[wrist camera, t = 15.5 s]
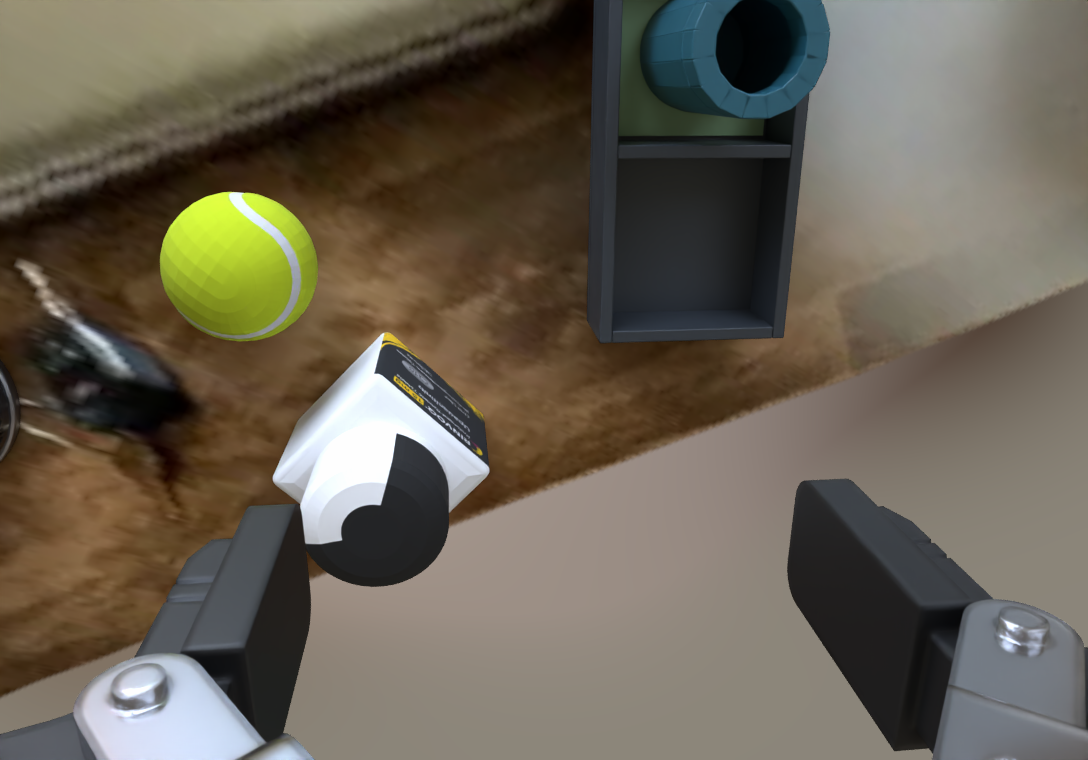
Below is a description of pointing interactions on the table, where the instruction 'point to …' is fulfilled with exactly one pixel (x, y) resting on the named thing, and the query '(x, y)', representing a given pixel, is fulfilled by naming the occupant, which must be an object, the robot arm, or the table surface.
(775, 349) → the table surface
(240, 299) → the tennis ball
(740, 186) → the divided tray
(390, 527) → the medicine bottle
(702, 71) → the jar
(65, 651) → the table surface
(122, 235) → the table surface
